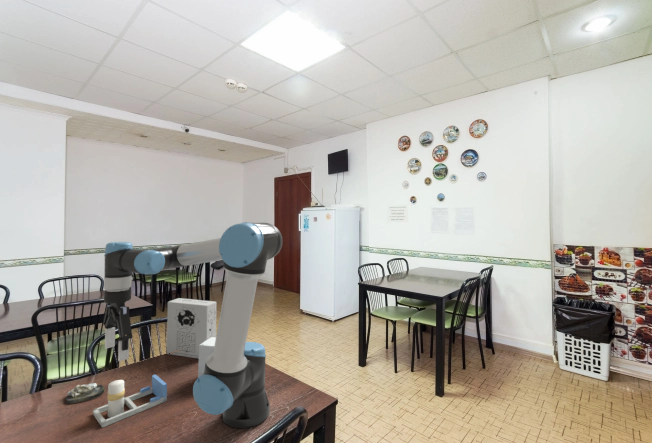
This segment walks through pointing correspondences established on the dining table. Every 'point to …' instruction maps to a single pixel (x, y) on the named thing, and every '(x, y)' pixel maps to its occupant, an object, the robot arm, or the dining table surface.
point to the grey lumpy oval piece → (84, 393)
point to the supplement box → (205, 353)
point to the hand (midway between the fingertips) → (116, 353)
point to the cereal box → (189, 325)
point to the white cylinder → (116, 398)
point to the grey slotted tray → (157, 388)
